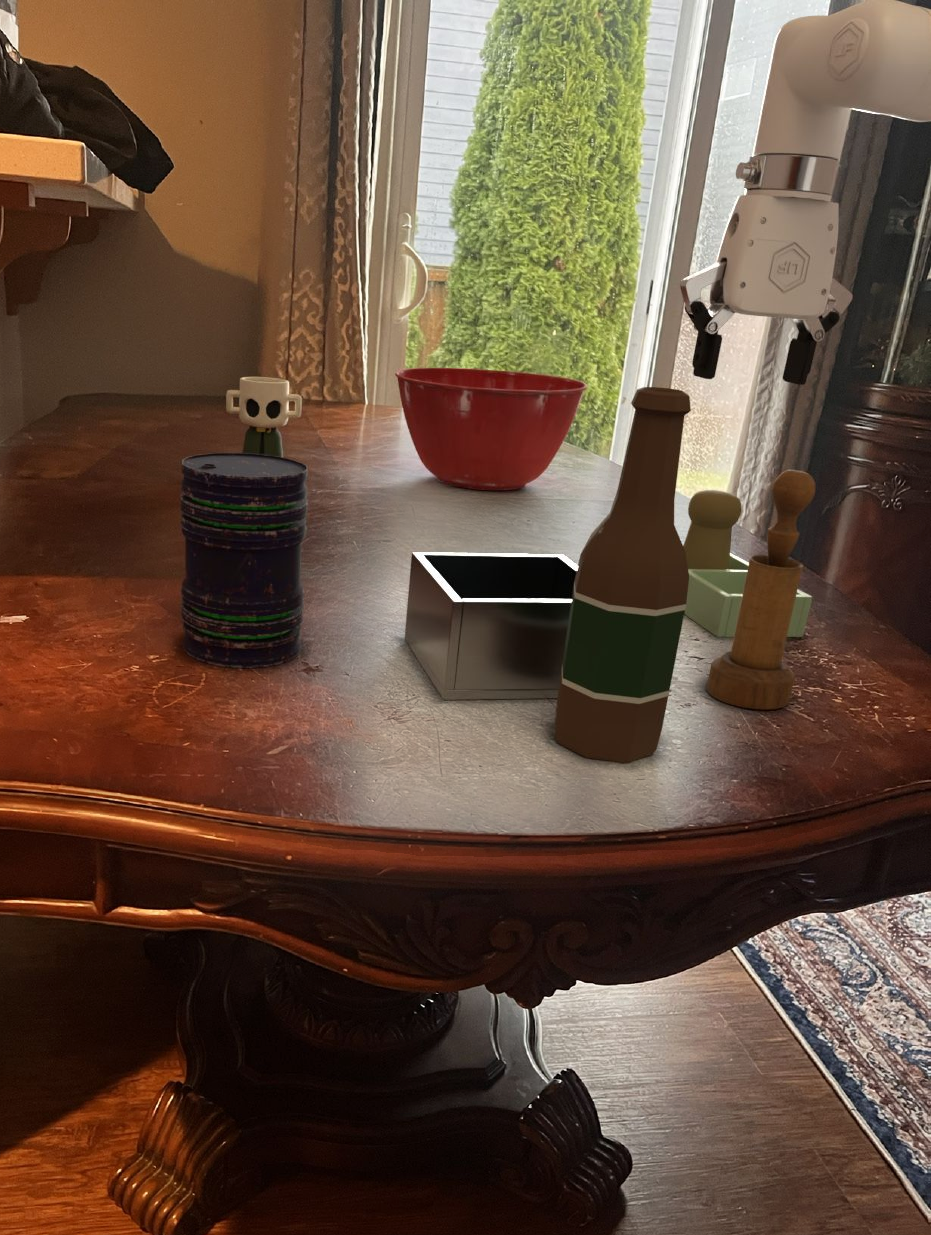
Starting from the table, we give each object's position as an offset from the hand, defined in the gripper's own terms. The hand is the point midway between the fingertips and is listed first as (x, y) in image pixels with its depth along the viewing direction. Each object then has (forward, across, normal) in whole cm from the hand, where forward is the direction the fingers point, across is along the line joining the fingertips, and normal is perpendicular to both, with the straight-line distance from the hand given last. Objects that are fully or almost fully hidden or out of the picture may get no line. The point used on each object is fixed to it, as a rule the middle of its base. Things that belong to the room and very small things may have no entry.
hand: (748, 380), depth 102 cm
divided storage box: (+22, -1, -4) cm, 22 cm away
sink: (+22, -28, -20) cm, 41 cm away
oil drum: (+22, -50, -15) cm, 56 cm away
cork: (+22, -1, 0) cm, 22 cm away
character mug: (+23, -41, +61) cm, 77 cm away
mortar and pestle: (+22, -10, -27) cm, 36 cm away
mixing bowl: (+23, -8, +58) cm, 63 cm away
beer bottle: (+22, -25, -34) cm, 48 cm away
